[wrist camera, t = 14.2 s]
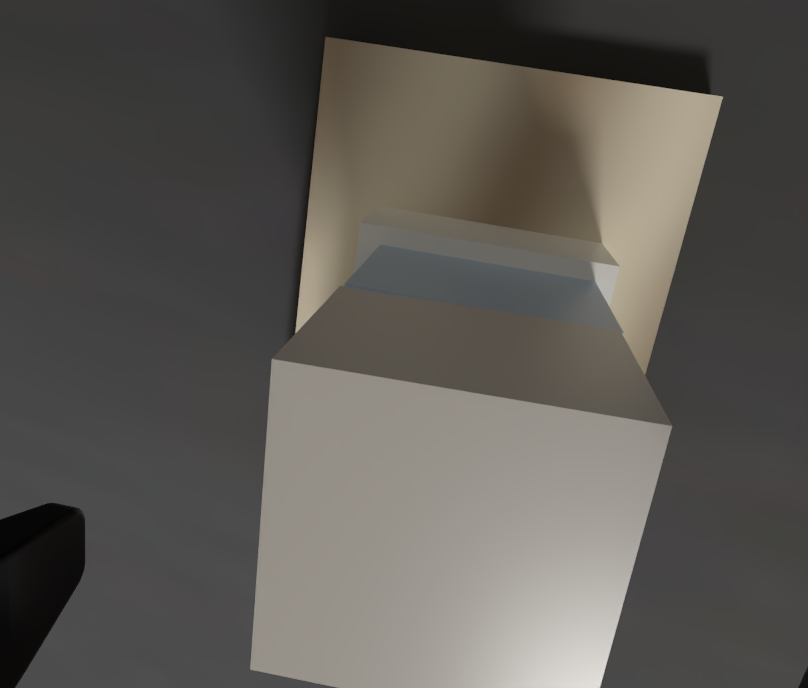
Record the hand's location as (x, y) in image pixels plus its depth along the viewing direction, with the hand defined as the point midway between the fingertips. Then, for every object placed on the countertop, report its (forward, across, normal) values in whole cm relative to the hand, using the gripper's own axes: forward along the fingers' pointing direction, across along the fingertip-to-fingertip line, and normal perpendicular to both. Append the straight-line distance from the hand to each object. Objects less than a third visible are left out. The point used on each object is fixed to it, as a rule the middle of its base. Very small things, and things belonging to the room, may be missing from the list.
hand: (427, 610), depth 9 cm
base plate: (+13, 0, 0) cm, 13 cm away
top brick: (+5, 0, 0) cm, 5 cm away
